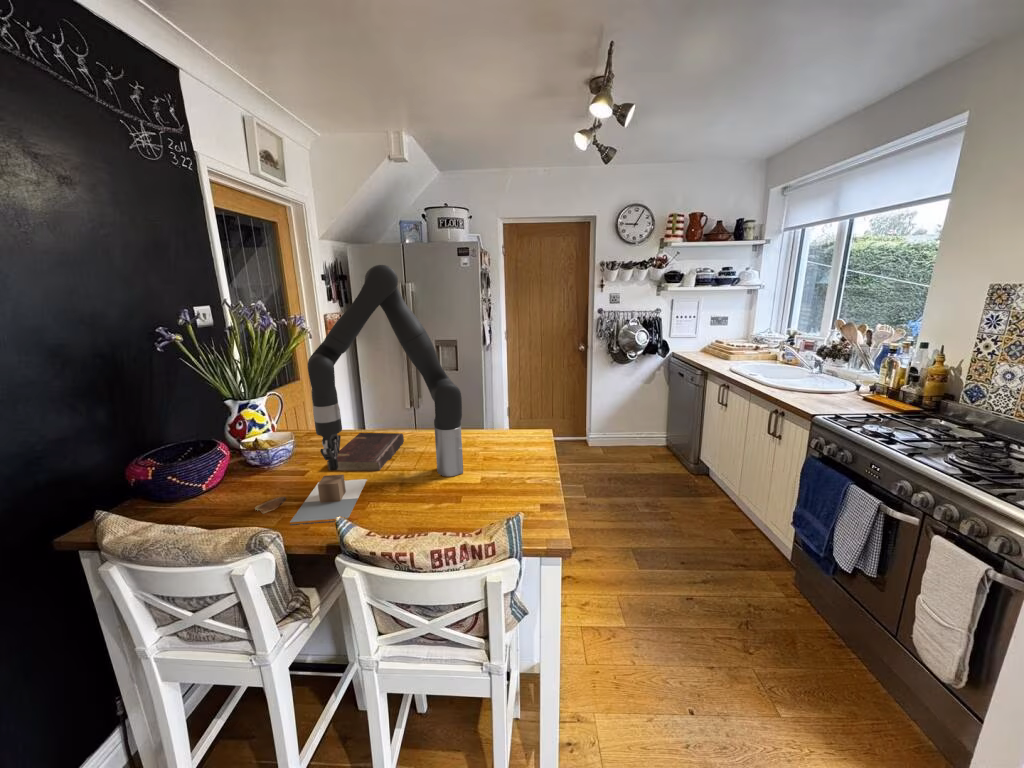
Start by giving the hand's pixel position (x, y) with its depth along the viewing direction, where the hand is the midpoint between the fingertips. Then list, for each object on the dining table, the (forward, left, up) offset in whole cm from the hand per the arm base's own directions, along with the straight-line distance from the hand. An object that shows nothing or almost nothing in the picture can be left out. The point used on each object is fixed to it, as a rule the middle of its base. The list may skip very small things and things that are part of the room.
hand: (334, 469), depth 130 cm
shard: (+18, +5, -9) cm, 21 cm away
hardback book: (-4, -29, -9) cm, 31 cm away
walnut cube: (0, +1, -4) cm, 5 cm away
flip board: (0, +5, -8) cm, 10 cm away
